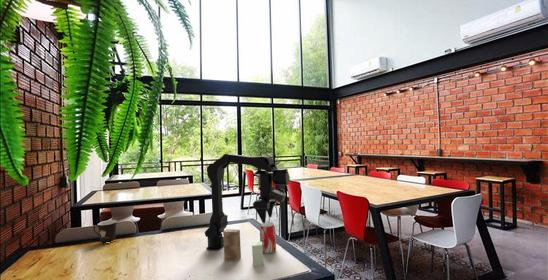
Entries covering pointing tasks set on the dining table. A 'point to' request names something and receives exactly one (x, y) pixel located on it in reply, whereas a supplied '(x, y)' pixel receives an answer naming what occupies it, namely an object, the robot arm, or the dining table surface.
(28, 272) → the dining table surface
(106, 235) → the coffee mug
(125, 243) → the dining table surface
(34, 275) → the dining table surface
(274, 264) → the dining table surface
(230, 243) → the walnut block
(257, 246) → the sage block
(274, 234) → the soda can
